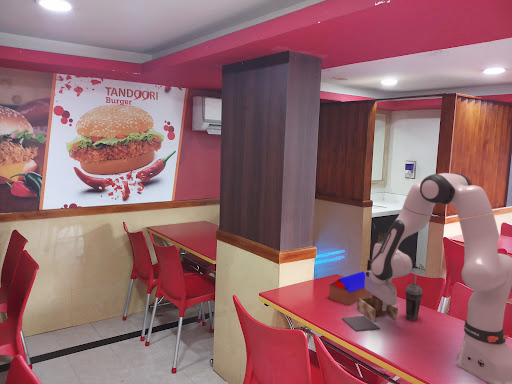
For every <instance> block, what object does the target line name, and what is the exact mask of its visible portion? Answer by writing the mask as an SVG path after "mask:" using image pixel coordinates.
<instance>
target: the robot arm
mask: <svg viewBox="0 0 512 384" xmlns="http://www.w3.org/2000/svg"><path fill="white" fill-rule="evenodd" d="M486 193H487V192H486V191H485V189H484V188H483V187H481V186H479V185H475V184H473V185H472V182H471V179H469V178H468V177H467V176H466V175H464V174H461V173H455V172H454V173H450V172H449V173H448V172H442V173H436V174H435V173H433V174H430V175H427V176H426V177H424V178H423V179H422V181H419V182H416V183H414V184H413V185H412V186H411V188H410V189H409V191H408V193H407V195H406V198H405V199H404V203H403V204H402V208H401V211H400V213H399V214H398V216H397V218H396V219H395V220H394V221H393V223H392V224H391V225H390V227H389V228H388V231H387V232H386V235H385V237H384V239H383V241H378V242H376V243H375V244H374V246H373V249H372V250H373V251H372V257H371V258H372V262H371V271H367V270H365V271H364V272H365V276H366V277H365V290H367V291H368V292H370V293H371V297H372V296H376V297H377V298H379V299H380V300H382V301H383V302H382V303H383V305H382V306H381V310H382V311H386V307H387V305H394V306H396V305H397V301H398V299H397V298H398V297H397V296H398V295H397V293H398V292H397V288H396V286H395V284H394V283H392V280H393V279H395V278H399V277H404V276H408V275H410V274H411V273H412V271H413V265H414V264H413V260H412V258H411V256H409V255H408V254H406V253H405V252H402V251H401V250H400V249H399V246H400V244H401V243H402V242H403V240H405V239H406V238H407V237H409V236H411V235H413V234H415V233H418V232H420V231H422V230H423V229H425V228H426V227H427V225H428V223H429V222H430V220H431V217H432V214H433V211H434V208H435V206H436V204H437V205H438V204H440V205H449V204H451V205H452V206H454V208H455V209H456V213H457V217H458V221H459V225H460V226H459V227H460V229H461V234H462V239H463V243H464V244H463V245H464V246H463V247H464V258H463V259H464V260H463V261H464V263H463V267H462V269H461V280H462V281H463V282H464V284H465V285H466V287H467V288H469V289H471V290H472V294H471V295H470V297H469V299H468V305H467V314H466V320H465V321H464V325H463V327H464V328H463V331H464V335H463V339H462V343H461V347H460V350H459V352H458V353H457V357H456V358H457V362H456V365H457V366H458V367H459V368H461V369H462V370H465V371H466V372H468V373H470V374H472V375H474V376H475V377H477V378H479V379H481V380H483V381H485V382H486V383H488V384H512V349H511V348H510V347H509V345H508V343H507V342H506V341H507V339H509V337H510V335H505V331H504V328H503V324H504V317H505V310H506V306H507V302H508V298H509V296H510V293H511V289H512V257H511V256H510V255H508V254H504V253H498V252H499V251H498V250H499V249H498V242H499V238H500V233H499V230H498V225H497V222H496V218H495V215H494V211H493V207H492V204H491V202H490V200H489V197H488V195H487V194H486Z"/></svg>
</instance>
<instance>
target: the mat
mask: <svg viewBox="0 0 512 384" xmlns="http://www.w3.org/2000/svg"><path fill="white" fill-rule="evenodd" d="M341 320H342V321H344V322H345V323H346V324H347V325H348V327H350V328H351V329H352V330H353V331H355V332H365V331H376V330H380V329H381V327H380V326H378V325H377V324H376V323H375V322H374V321H372V320H371V319H370V318H368V317H367V316H366V315H360V316H359V315H358V316H348V317H345V316H344V317H342V318H341Z"/></svg>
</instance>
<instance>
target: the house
mask: <svg viewBox="0 0 512 384" xmlns="http://www.w3.org/2000/svg"><path fill="white" fill-rule="evenodd" d="M365 277H366V276H365V271H360V272H357V273H352V274H350V275H348V276H344V277H341V278H340V277H339V278H338V279H337V280H335V281H334V282H332V283H330V284H329V293H328V294H329V295H328V299H330V300H333V301H336V302H339V303H341V304H344V305H346V306H350V305H353V304H356V303H358V298H368V297H371V293H370V292H368V291H367V290H365Z"/></svg>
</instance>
